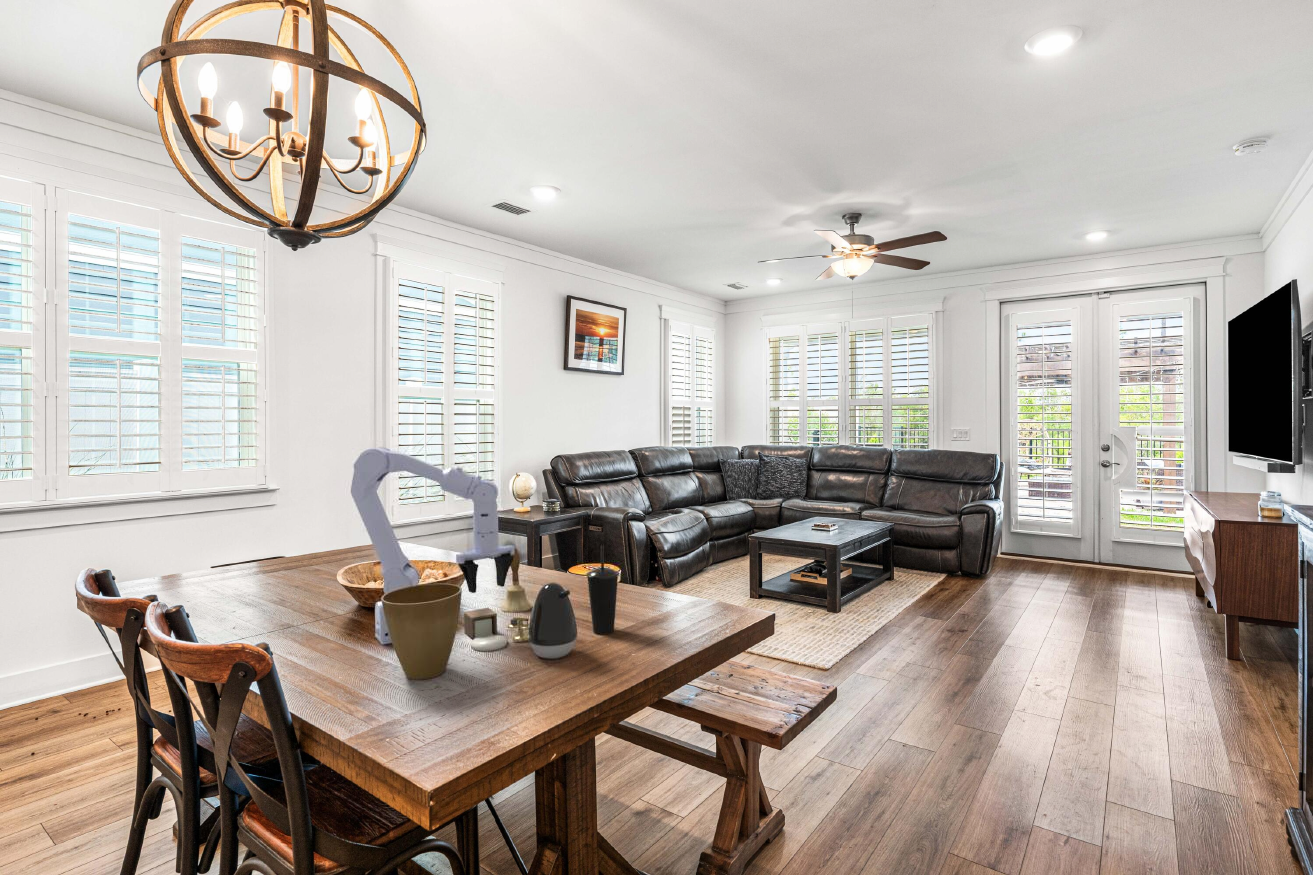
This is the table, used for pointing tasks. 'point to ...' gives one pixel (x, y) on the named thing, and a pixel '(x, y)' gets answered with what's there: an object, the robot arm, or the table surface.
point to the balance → (519, 629)
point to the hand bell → (516, 591)
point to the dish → (489, 643)
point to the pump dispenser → (552, 623)
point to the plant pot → (423, 626)
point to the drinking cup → (603, 597)
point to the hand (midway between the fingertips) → (486, 588)
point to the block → (483, 627)
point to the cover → (478, 614)
